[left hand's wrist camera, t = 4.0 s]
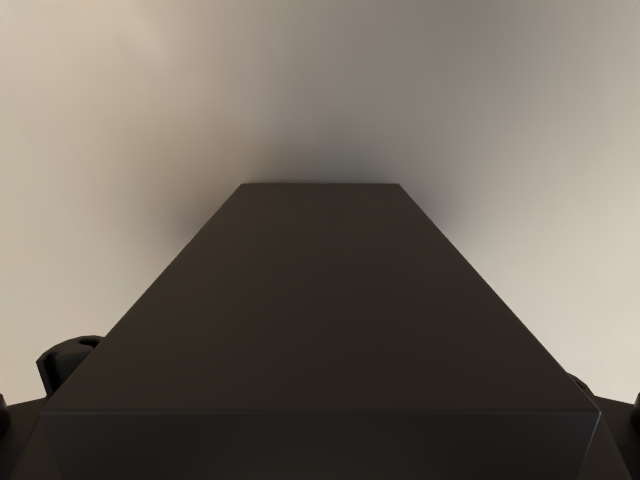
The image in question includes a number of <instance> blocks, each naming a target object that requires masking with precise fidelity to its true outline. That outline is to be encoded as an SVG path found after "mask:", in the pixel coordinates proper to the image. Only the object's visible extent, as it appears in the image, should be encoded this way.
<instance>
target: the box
mask: <svg viewBox="0 0 640 480" xmlns="http://www.w3.org/2000/svg"><path fill="white" fill-rule="evenodd" d="M600 415H601V411H600V409H599V408H598V407H597V406H596V405H595V403H594V402H593V401H592V400H591V399H590V398H589V397H588V396H587V395H586V393H585V392H584V391H583V390H582V389H581V388H580V387H579V386H578V384H577V383H576V382H575V381H574V380H573V379H572V378H571V377H570V375H569V374H568V373H567V372H566V371H565V370H564V369H563V368H562V367H561V365H560V364H559V363H558V362H557V361H556V360H555V359H554V358H553V356H552V355H551V354H550V353H549V352H548V351H547V350H546V349H545V347H544V346H543V345H542V344H541V343H540V342H539V341H538V340H537V339H536V337H535V336H534V335H533V334H532V333H531V332H530V331H529V330H528V328H527V327H526V326H525V325H524V324H523V323H522V322H521V321H520V319H519V318H518V317H517V316H516V315H515V314H514V313H513V312H512V311H511V309H510V308H509V307H508V306H507V305H506V304H505V303H504V302H503V300H502V299H501V298H500V297H499V296H498V295H497V294H496V293H495V291H494V290H493V289H492V288H491V287H490V286H489V285H488V284H487V283H486V281H485V280H484V279H483V278H482V277H481V276H480V275H479V274H478V272H477V271H476V270H475V269H474V268H473V267H472V266H471V265H470V263H469V262H468V261H467V260H466V259H465V258H464V257H463V256H462V255H461V253H460V252H459V251H458V250H457V249H456V248H455V247H454V246H453V244H452V243H451V242H450V241H449V240H448V239H447V238H446V237H445V235H444V234H443V233H442V232H441V231H440V230H439V229H438V228H437V227H436V225H435V224H434V223H433V222H432V221H431V220H430V219H429V218H428V216H427V215H426V214H425V213H424V212H423V211H422V210H421V209H420V207H419V206H418V205H417V204H416V203H415V202H414V201H413V200H412V198H411V197H410V196H409V195H408V194H407V193H406V192H405V191H404V190H403V188H402V187H401V186H400V185H399V184H241V185H240V186H239V187H238V188H237V189H236V191H235V192H234V193H233V194H232V195H231V196H230V197H229V198H228V200H227V201H226V202H225V203H224V204H223V205H222V206H221V207H220V209H219V210H218V211H217V212H216V213H215V214H214V215H213V216H212V217H211V219H210V220H209V221H208V222H207V223H206V224H205V225H204V226H203V228H202V229H201V230H200V231H199V232H198V233H197V234H196V235H195V237H194V238H193V239H192V240H191V241H190V242H189V243H188V244H187V245H186V247H185V248H184V249H183V250H182V251H181V252H180V253H179V254H178V256H177V257H176V258H175V259H174V260H173V261H172V262H171V263H170V265H169V266H168V267H167V268H166V269H165V270H164V271H163V272H162V273H161V275H160V276H159V277H158V278H157V279H156V280H155V281H154V282H153V284H152V285H151V286H150V287H149V288H148V289H147V290H146V291H145V293H144V294H143V295H142V296H141V297H140V298H139V299H138V300H137V301H136V303H135V304H134V305H133V306H132V307H131V308H130V309H129V310H128V312H127V313H126V314H125V315H124V316H123V317H122V318H121V319H120V321H119V322H118V323H117V324H116V325H115V326H114V327H113V328H112V329H111V331H110V332H109V333H108V334H107V335H106V336H105V337H104V338H103V340H102V341H101V342H100V343H99V344H98V345H97V346H96V347H95V349H94V350H93V351H92V352H91V353H90V354H89V355H88V356H87V357H86V359H85V360H84V361H83V362H82V363H81V364H80V365H79V366H78V368H77V369H76V370H75V371H74V372H73V373H72V374H71V375H70V377H69V378H68V379H67V380H66V381H65V382H64V383H63V384H62V385H61V387H60V388H59V389H58V390H57V391H56V392H55V393H54V394H53V396H52V397H51V398H50V399H49V400H48V401H47V402H46V403H45V405H44V406H43V407H42V408H41V409H40V411H39V416H40V418H41V421H42V424H43V427H44V430H45V433H46V435H47V438H48V441H49V444H50V447H51V449H52V452H53V455H54V458H55V461H56V463H57V466H58V469H59V472H60V475H61V478H62V480H578V477H579V475H580V472H581V469H582V466H583V463H584V460H585V458H586V455H587V452H588V449H589V446H590V444H591V441H592V438H593V435H594V432H595V430H596V427H597V424H598V421H599V418H600Z"/></svg>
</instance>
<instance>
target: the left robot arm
mask: <svg viewBox="0 0 640 480" xmlns="http://www.w3.org/2000/svg"><path fill="white" fill-rule="evenodd" d="M103 338H104V337H101V336H95V335H92V336H81V337H77V338H73V339H69V340H66V341H64V342H62V343H60V344H57V345H55V346H53V347H52V348H50V349H49V350H47V351H46V352H44V353H43V354H42V355H41V356H40V358H39V359H38V360H37V361H36V364H37V367H38V370H39V373H40V376H41V379H42V382H43V385H44V388H45V391H46V394H47V395H46V397H45V398H41V399H37V400H32V401H28V402H23V403H19V404H14V405H10V406H7V405H6V403H5V400H4V398H3V395H2V394H0V480H62V478H61V475H60V472H59V469H58V466H57V463H56V461H55V458H54V455H53V452H52V449H51V447H50V444H49V441H48V438H47V435H46V433H45V430H44V427H43V424H42V421H41V418H40V416H39V411H40V409H41V408H42V407H43V406H44V405H45V403H46V402H47V401H48V400H49V399H50V398H51V397H52V396H53V394H54V393H55V392H56V391H57V390H58V389H59V388H60V387H61V385H62V384H63V383H64V382H65V381H66V380H67V379H68V378H69V377H70V375H71V374H72V373H73V372H74V371H75V370H76V369H77V368H78V366H79V365H80V364H81V363H82V362H83V361H84V360H85V359H86V357H87V356H88V355H89V354H90V353H91V352H92V351H93V350H94V349H95V347H96V346H97V345H98V344H99V343H100V342H101V341H102V340H103ZM568 374H569V373H568ZM569 375H570V377H571V378H572V379H573V380H574V381H575V382H576V383H577V384H578V386H579V387H580V388H581V389H582V390H583V391H584V392H585V393H586V395H587V396H588V397H589V398H590V399H591V400H592V401H593V402H594V403H595V405H596V406H597V407H598V408H599V409H600V411H601V415H600V418H599V421H598V424H597V427H596V430H595V432H594V435H593V438H592V441H591V444H590V446H589V449H588V452H587V455H586V458H585V460H584V463H583V466H582V469H581V472H580V475H579V477H578V480H640V393H639V394H638V396H637V399H636V401H635V404H629V403H624V402H620V401H615V400H611V399H606V398H602V397H598V396H594V395H593V393H592V392H591V390H590V389H589V388H588V386H587V385H586V384H585V383H583V382H582V381H581V380H580V379H578V378H577V377H575V376H573V375H571V374H569Z"/></svg>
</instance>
